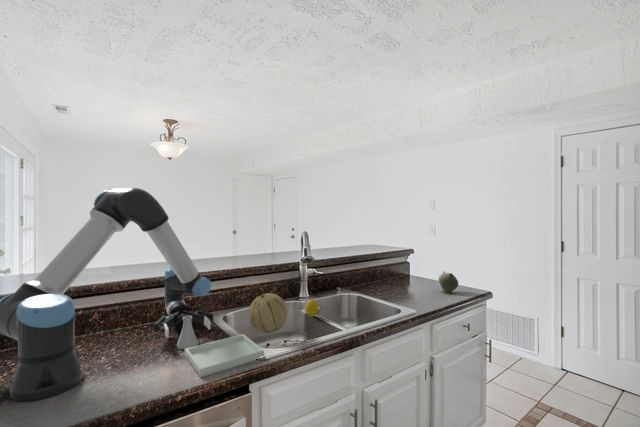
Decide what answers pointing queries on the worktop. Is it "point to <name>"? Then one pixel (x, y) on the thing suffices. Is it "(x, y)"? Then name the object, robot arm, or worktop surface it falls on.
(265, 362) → the worktop surface
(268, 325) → the cantaloupe
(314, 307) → the lemon
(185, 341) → the flask
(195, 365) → the tray
